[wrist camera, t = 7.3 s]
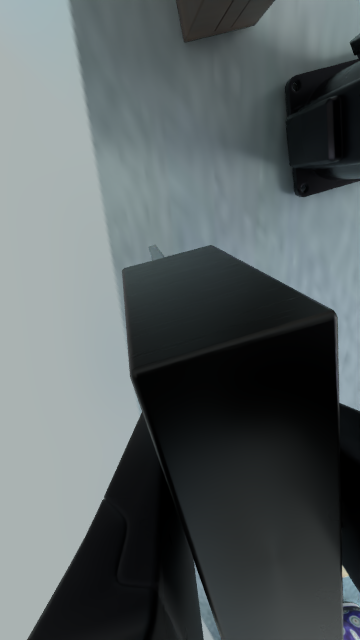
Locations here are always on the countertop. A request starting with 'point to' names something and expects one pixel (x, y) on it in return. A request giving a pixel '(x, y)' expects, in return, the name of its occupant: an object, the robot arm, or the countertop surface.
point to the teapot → (351, 621)
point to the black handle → (244, 436)
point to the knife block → (218, 16)
